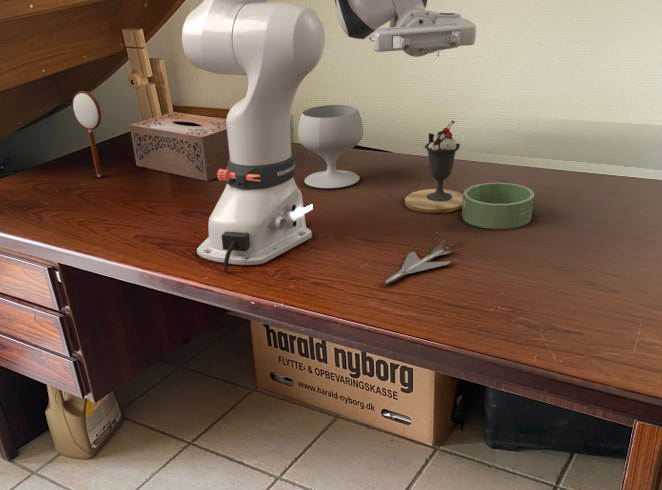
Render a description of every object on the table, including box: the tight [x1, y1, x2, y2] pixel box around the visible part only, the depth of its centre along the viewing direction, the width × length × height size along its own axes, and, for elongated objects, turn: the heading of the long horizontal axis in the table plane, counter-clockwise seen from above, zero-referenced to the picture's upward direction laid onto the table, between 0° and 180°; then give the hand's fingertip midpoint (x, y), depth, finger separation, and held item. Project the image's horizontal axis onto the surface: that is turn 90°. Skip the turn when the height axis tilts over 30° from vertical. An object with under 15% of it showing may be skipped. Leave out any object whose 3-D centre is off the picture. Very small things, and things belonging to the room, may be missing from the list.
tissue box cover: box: [129, 111, 230, 182], centre depth 175 cm, size 26×14×10 cm, turn 48°
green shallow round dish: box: [461, 182, 535, 230], centre depth 133 cm, size 12×13×4 cm
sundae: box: [424, 120, 461, 201], centre depth 140 cm, size 7×7×15 cm
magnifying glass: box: [71, 90, 102, 178], centre depth 170 cm, size 9×2×20 cm, turn 57°
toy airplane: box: [383, 238, 458, 286], centre depth 118 cm, size 8×21×2 cm, turn 135°
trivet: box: [404, 188, 463, 214], centre depth 143 cm, size 12×12×1 cm
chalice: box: [297, 104, 364, 189], centre depth 156 cm, size 14×14×15 cm
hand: (430, 42), depth 139 cm, fingers open, 8 cm apart
